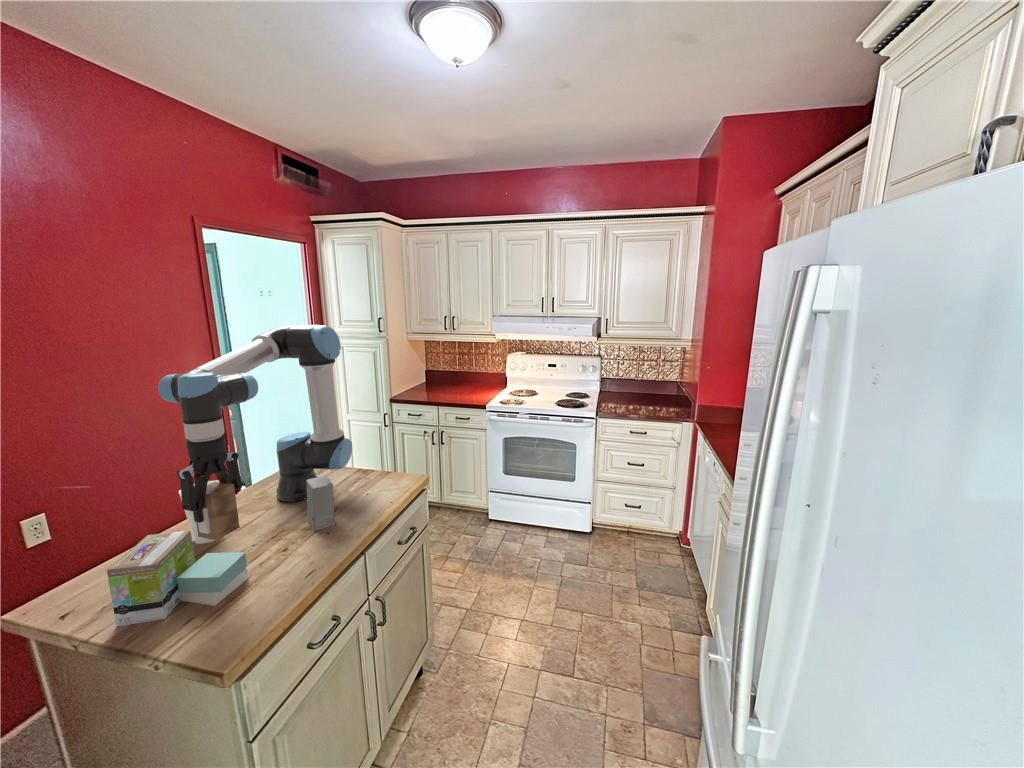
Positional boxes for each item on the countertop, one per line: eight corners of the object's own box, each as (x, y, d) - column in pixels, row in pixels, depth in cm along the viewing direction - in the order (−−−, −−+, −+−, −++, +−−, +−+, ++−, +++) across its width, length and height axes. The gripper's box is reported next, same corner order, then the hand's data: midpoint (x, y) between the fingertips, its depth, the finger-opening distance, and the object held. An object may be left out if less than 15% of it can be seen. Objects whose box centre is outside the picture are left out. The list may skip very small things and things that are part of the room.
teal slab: (209, 566, 106) (206, 553, 106) (246, 566, 107) (245, 552, 106) (179, 592, 97) (176, 578, 96) (221, 591, 97) (218, 577, 96)
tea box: (167, 620, 93) (157, 563, 90) (115, 628, 90) (102, 570, 88) (199, 578, 107) (191, 528, 104) (155, 584, 105) (145, 533, 102)
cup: (212, 527, 132) (204, 479, 129) (237, 530, 130) (230, 481, 127) (178, 546, 121) (168, 494, 118) (205, 550, 119) (196, 498, 116)
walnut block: (221, 524, 104) (215, 481, 102) (239, 527, 102) (233, 484, 100) (198, 536, 98) (191, 491, 96) (217, 540, 97) (210, 494, 94)
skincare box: (307, 523, 134) (302, 479, 131) (329, 516, 139) (325, 474, 136) (314, 534, 128) (310, 488, 125) (337, 526, 132) (333, 482, 129)
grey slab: (217, 577, 108) (215, 563, 108) (249, 581, 106) (247, 568, 106) (181, 603, 99) (178, 589, 98) (215, 608, 97) (213, 594, 96)
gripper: (230, 425, 106) (240, 505, 110) (149, 448, 88) (166, 544, 92) (252, 427, 104) (262, 509, 108) (175, 451, 86) (190, 549, 90)
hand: (218, 525), depth 100 cm, fingers closed on walnut block, 6 cm apart
